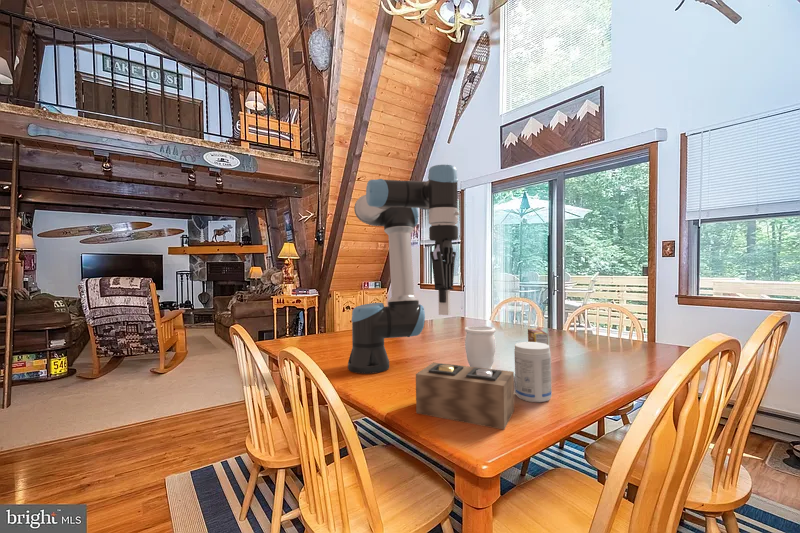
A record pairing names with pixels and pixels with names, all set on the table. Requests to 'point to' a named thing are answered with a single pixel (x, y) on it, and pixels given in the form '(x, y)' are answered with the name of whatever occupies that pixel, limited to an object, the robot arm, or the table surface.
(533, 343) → the supplement tub
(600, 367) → the table surface
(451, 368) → the brass peg
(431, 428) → the table surface
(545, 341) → the candy box
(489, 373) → the steel peg
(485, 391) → the walnut block
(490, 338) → the jar
